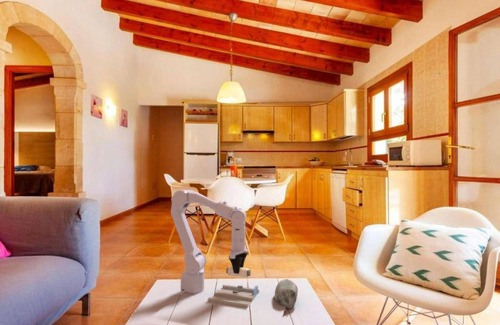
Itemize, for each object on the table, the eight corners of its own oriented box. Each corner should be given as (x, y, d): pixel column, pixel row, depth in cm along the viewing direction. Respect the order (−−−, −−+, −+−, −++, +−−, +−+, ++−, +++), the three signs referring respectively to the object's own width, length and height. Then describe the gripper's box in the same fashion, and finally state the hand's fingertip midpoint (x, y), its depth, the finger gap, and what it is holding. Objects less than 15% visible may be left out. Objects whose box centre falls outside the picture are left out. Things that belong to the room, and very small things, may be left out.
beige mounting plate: (206, 307, 114) (206, 295, 114) (224, 289, 131) (224, 279, 131) (245, 313, 109) (246, 301, 109) (259, 294, 126) (260, 283, 126)
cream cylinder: (225, 276, 123) (225, 267, 124) (228, 273, 127) (228, 264, 127) (248, 279, 120) (248, 269, 120) (251, 276, 124) (251, 267, 124)
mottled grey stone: (302, 304, 110) (290, 277, 113) (278, 314, 110) (267, 287, 114) (304, 298, 122) (293, 274, 126) (283, 307, 123) (273, 283, 127)
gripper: (241, 243, 116) (241, 278, 116) (253, 235, 130) (252, 267, 129) (224, 241, 118) (224, 276, 118) (237, 234, 132) (237, 265, 132)
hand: (238, 271), depth 124 cm, fingers closed on cream cylinder, 4 cm apart
